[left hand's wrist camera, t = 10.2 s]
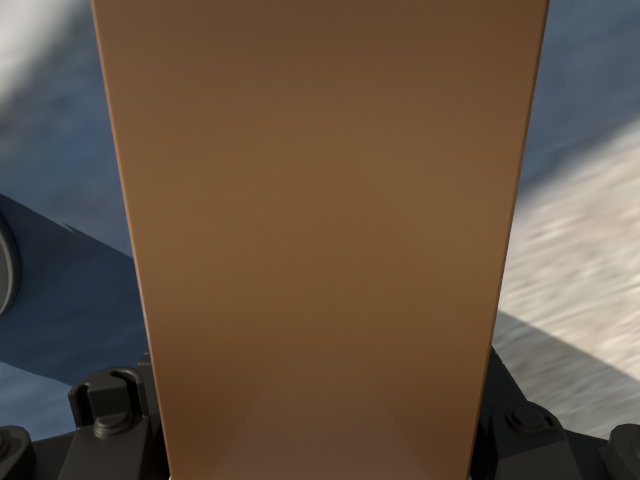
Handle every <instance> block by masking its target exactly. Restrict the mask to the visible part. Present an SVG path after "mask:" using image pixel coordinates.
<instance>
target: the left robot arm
mask: <svg viewBox="0 0 640 480" xmlns="http://www.w3.org/2000/svg"><path fill="white" fill-rule="evenodd" d="M20 274H21V273H20V260H19V254H18V250H17V247H16V244H15V241H14V239H13V236H12V234H11V232H10V230H9V228H8V226H7V225H6V223H5V221H4V220H3V218H2V217H1V215H0V317H1V316H2V315H3V314H4V313H5V312H6V311H7V310H8V309H9V307H10V306H11V304H12V303H13V301H14V299H15V297H16V294H17V291H18V288H19V283H20ZM68 398H69V402H70V405H71V409H72V413H73V417H74V420H75V424H76V428H77V429H76V431H73V432H70V433H67V434H64V435H60V436H55V437H51V438H47V439H43V440H39V441H34V442H32V441H31V438H30V435H29V433H28V432H27V431H26V430H25V429H24V428H23V427H18V426H13V425H10V426H2V427H0V480H169V477H170V469H169V464H168V458H167V452H166V446H165V440H164V434H163V428H162V422H161V416H160V410H159V405H158V399H157V393H156V387H155V381H154V375H153V369H152V363H151V357H150V351H149V346H148V348H147V349H146V351H145V354H144V355H143V356H142V357H141V359H140V360H139V362H138V365H137V366H136V367H135V368H130V367H126V366H125V367H111V368H107V369H102V370H99V371H97V372H94V373H92V374H90V375H88V376H86V377H84V378H83V379H82V380H80V381H79V382H78V383H76V384H75V385H74V386H73V388H72V389H71V390H70V392H69V393H68ZM470 476H471V479H472V480H640V425H637V424H623V425H618V426H616V427H615V428H614V429H613V430H612V431H611V434H610V437H609V440H605V439H600V438H596V437H592V436H588V435H584V434H579V433H575V432H572V431H569V430H566V429H564V428H563V427H562V425H561V424H560V422H559V421H558V419H557V418H556V417H555V416H554V415H553V414H552V413H550V412H549V411H548V410H547V409H545V408H543V407H541V406H539V405H537V404H535V403H533V402H530V401H527V399H526V398H525V396H524V395H523V393H522V391H521V390H520V388H519V387H518V385H517V384H516V382H515V381H514V379H513V378H512V376H511V374H510V373H509V371H508V370H507V368H506V367H505V365H504V364H502V360H501V359H500V357H499V356H498V354H496V353H495V350H494V348H493V347H492V345H491V350H490V356H489V362H488V367H487V373H486V379H485V385H484V391H483V397H482V403H481V409H480V415H479V420H478V426H477V432H476V438H475V444H474V450H473V456H472V462H471V467H470Z"/></svg>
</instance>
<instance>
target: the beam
mask: <svg viewBox="0 0 640 480" xmlns="http://www.w3.org/2000/svg"><path fill="white" fill-rule="evenodd" d="M90 3H91V9H92V15H93V21H94V27H95V33H96V39H97V45H98V50H99V56H100V62H101V68H102V74H103V80H104V86H105V92H106V98H107V104H108V109H109V115H110V121H111V127H112V133H113V139H114V145H115V151H116V157H117V163H118V168H119V174H120V180H121V186H122V192H123V198H124V204H125V210H126V216H127V222H128V228H129V233H130V239H131V245H132V251H133V257H134V263H135V269H136V275H137V281H138V287H139V292H140V298H141V304H142V310H143V316H144V322H145V328H146V334H147V340H148V346H149V351H150V357H151V363H152V369H153V375H154V381H155V387H156V393H157V399H158V405H159V410H160V416H161V422H162V428H163V434H164V440H165V446H166V452H167V458H168V464H169V469H170V475H171V480H468V479H469V473H470V467H471V462H472V456H473V450H474V444H475V438H476V432H477V426H478V420H479V415H480V409H481V403H482V397H483V391H484V385H485V379H486V373H487V367H488V362H489V356H490V350H491V344H492V338H493V332H494V326H495V320H496V314H497V309H498V303H499V297H500V291H501V285H502V279H503V273H504V267H505V262H506V256H507V250H508V244H509V238H510V232H511V226H512V220H513V214H514V209H515V203H516V197H517V191H518V185H519V179H520V173H521V167H522V161H523V156H524V150H525V144H526V138H527V132H528V126H529V120H530V114H531V108H532V103H533V97H534V91H535V85H536V79H537V73H538V67H539V61H540V56H541V50H542V44H543V38H544V32H545V26H546V20H547V14H548V8H549V3H550V0H90Z"/></svg>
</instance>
